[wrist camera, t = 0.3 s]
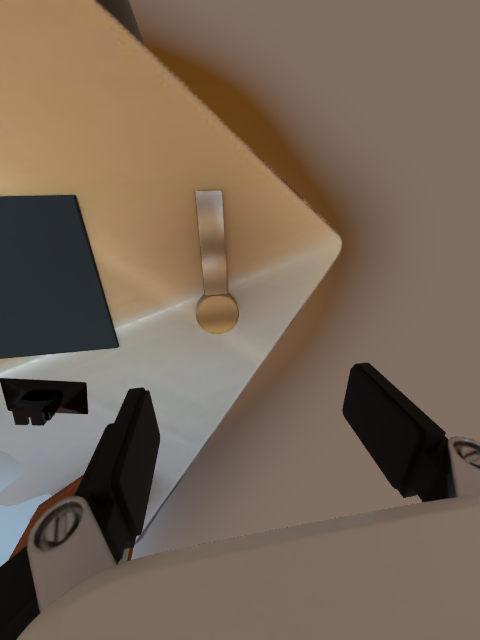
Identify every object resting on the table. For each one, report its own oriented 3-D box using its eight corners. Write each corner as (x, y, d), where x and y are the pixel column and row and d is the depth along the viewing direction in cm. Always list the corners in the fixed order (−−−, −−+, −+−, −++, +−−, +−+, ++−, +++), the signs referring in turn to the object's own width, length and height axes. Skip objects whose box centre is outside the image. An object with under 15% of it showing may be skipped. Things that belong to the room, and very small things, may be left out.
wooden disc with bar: (182, 193, 28) (180, 190, 25) (232, 191, 29) (235, 189, 26) (198, 329, 36) (198, 340, 33) (237, 326, 37) (240, 336, 34)
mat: (-153, 200, 24) (-161, 200, 24) (75, 195, 27) (73, 195, 26) (-47, 361, 33) (-51, 363, 32) (119, 345, 35) (117, 347, 35)
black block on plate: (6, 409, 38) (-19, 434, 34) (-3, 372, 35) (-32, 394, 31) (91, 413, 40) (77, 436, 36) (88, 379, 37) (73, 400, 33)
